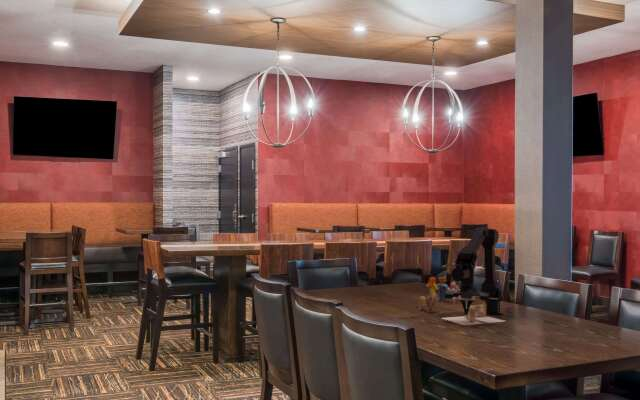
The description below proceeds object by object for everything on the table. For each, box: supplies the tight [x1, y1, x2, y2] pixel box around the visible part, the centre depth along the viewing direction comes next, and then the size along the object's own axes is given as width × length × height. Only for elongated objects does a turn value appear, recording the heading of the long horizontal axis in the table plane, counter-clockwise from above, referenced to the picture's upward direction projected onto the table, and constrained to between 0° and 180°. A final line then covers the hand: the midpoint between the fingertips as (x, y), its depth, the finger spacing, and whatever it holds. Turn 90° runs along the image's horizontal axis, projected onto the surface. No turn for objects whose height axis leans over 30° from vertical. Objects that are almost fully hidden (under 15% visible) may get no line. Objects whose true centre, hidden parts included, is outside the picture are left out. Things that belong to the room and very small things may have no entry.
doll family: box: [425, 276, 460, 304], centre depth 357 cm, size 21×10×13 cm, turn 34°
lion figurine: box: [414, 293, 440, 313], centre depth 328 cm, size 15×5×9 cm, turn 35°
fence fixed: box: [470, 302, 487, 317], centre depth 310 cm, size 9×2×6 cm, turn 114°
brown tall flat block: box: [464, 304, 475, 322], centre depth 302 cm, size 13×2×6 cm, turn 0°
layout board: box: [440, 315, 506, 326], centre depth 304 cm, size 22×17×1 cm
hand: (466, 315), depth 298 cm, fingers closed
